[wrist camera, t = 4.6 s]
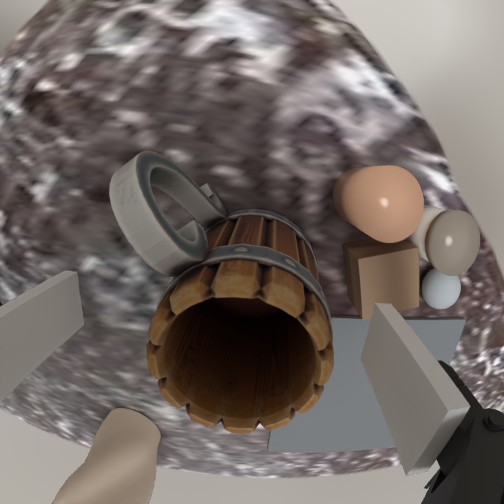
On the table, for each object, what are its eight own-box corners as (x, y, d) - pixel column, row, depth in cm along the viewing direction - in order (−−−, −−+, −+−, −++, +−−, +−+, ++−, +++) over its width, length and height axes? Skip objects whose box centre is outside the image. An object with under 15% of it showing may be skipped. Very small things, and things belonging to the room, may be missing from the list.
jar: (390, 250, 25) (425, 274, 18) (397, 197, 24) (437, 206, 17) (432, 254, 25) (472, 277, 18) (440, 205, 24) (484, 215, 17)
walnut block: (347, 296, 27) (362, 320, 22) (342, 243, 25) (358, 259, 21) (396, 285, 26) (418, 306, 21) (393, 234, 25) (418, 247, 20)
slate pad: (267, 448, 32) (267, 451, 32) (289, 312, 27) (289, 315, 27) (407, 441, 31) (409, 444, 31) (463, 317, 26) (466, 319, 26)
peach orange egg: (329, 222, 25) (350, 239, 18) (335, 163, 24) (359, 159, 17) (382, 228, 25) (418, 246, 18) (389, 172, 24) (427, 172, 17)
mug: (334, 288, 26) (390, 398, 12) (234, 339, 28) (207, 464, 14) (245, 132, 24) (213, 72, 9) (143, 198, 25) (25, 227, 11)
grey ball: (410, 298, 26) (428, 316, 22) (419, 259, 25) (440, 272, 21) (441, 299, 26) (461, 316, 22) (451, 262, 25) (472, 274, 21)
